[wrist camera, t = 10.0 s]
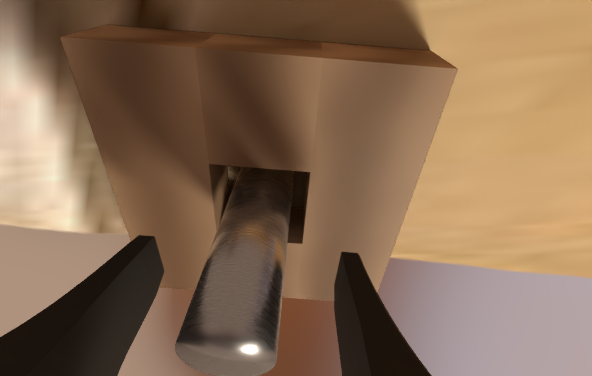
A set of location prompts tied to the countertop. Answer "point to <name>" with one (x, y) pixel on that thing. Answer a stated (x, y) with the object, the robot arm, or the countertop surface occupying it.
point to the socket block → (259, 139)
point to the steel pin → (242, 281)
